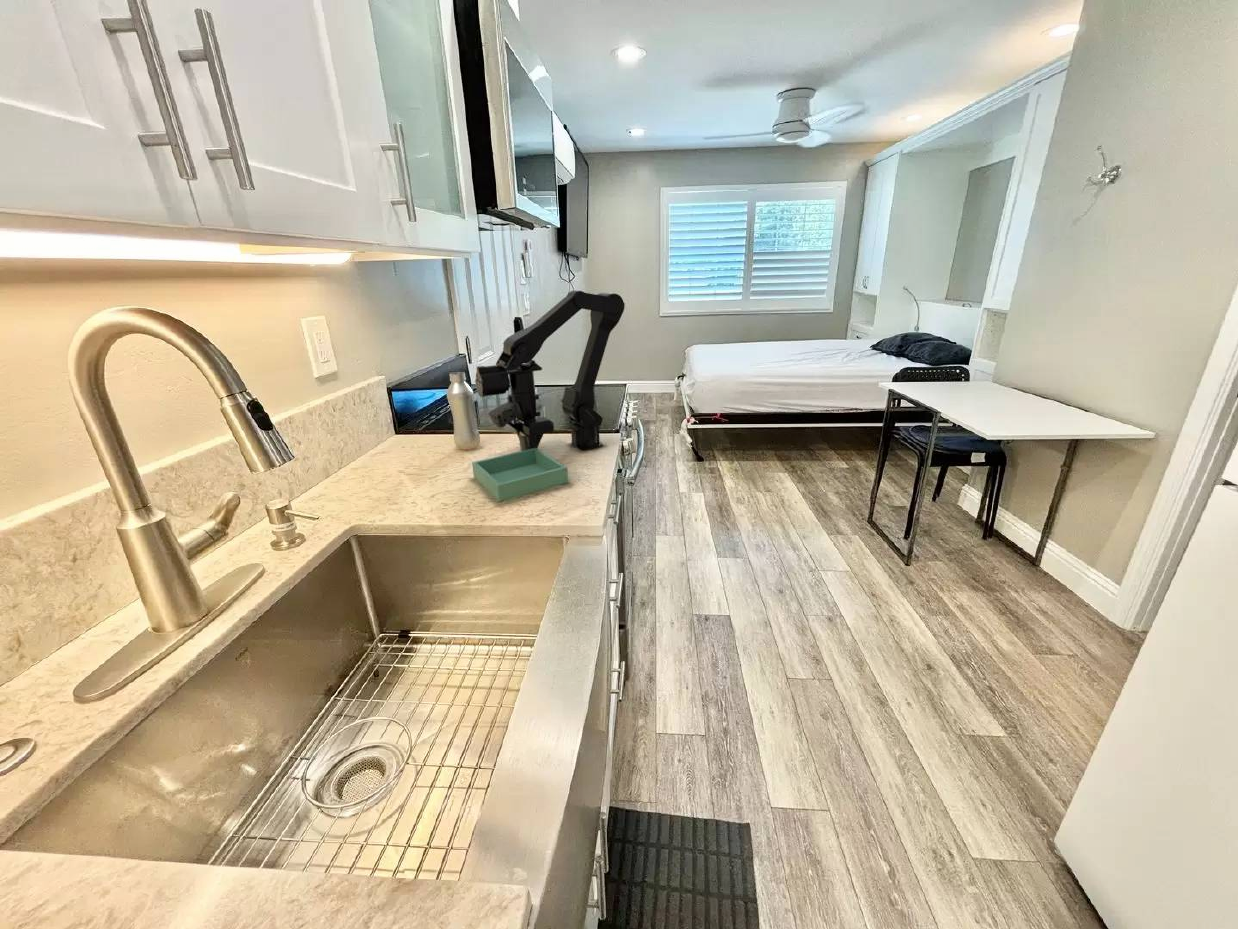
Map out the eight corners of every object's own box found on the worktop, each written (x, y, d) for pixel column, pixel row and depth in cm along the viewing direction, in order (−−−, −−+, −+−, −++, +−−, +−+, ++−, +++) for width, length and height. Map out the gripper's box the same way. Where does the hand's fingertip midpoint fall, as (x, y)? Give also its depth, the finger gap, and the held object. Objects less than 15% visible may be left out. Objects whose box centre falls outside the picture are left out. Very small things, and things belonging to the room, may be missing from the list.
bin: (537, 464, 118) (536, 447, 117) (568, 485, 106) (567, 467, 105) (474, 480, 110) (471, 462, 109) (500, 505, 98) (497, 485, 97)
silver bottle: (474, 452, 127) (463, 376, 119) (450, 451, 128) (438, 375, 121) (485, 444, 133) (475, 370, 125) (462, 443, 134) (451, 370, 127)
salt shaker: (533, 454, 125) (531, 427, 122) (540, 458, 122) (537, 431, 119) (518, 457, 123) (516, 431, 120) (525, 462, 120) (522, 435, 117)
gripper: (476, 388, 119) (484, 449, 125) (505, 404, 105) (513, 471, 111) (519, 382, 125) (525, 440, 131) (552, 396, 110) (557, 460, 116)
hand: (529, 452), depth 122 cm, fingers closed on salt shaker, 4 cm apart
